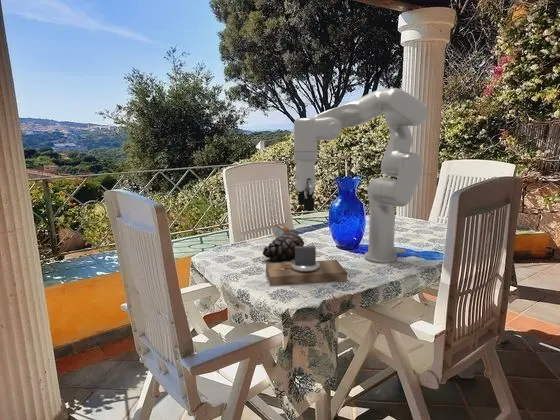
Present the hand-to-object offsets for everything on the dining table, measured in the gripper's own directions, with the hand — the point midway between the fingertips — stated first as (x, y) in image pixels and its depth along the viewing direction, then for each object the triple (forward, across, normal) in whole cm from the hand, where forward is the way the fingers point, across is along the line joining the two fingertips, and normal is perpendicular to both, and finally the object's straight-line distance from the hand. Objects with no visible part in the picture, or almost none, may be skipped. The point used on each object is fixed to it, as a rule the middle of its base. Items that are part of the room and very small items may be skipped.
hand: (305, 207), depth 137 cm
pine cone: (+25, -20, -4) cm, 32 cm away
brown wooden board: (+24, +1, 0) cm, 24 cm away
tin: (+25, -39, -2) cm, 47 cm away
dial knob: (+21, 0, -2) cm, 21 cm away
